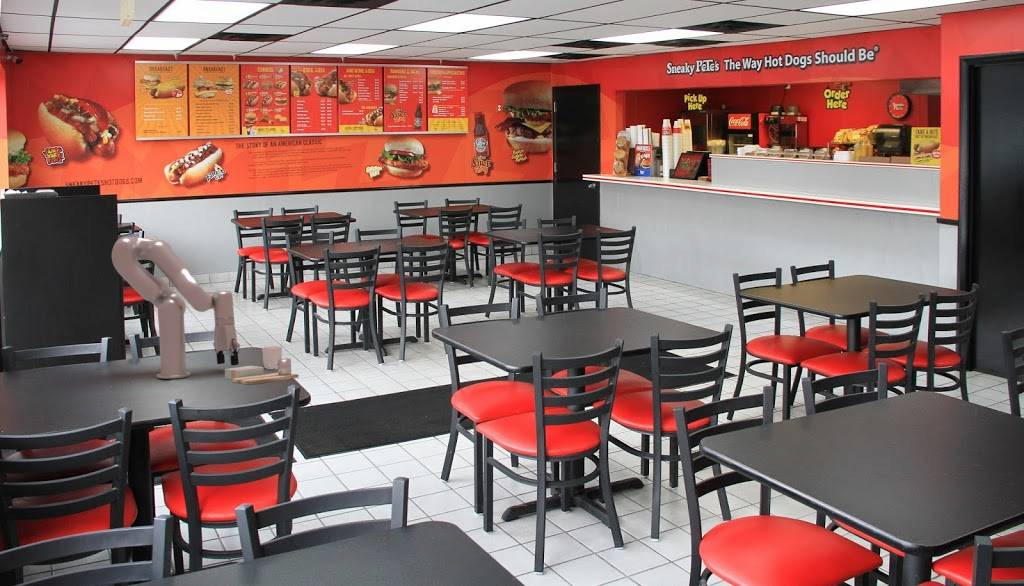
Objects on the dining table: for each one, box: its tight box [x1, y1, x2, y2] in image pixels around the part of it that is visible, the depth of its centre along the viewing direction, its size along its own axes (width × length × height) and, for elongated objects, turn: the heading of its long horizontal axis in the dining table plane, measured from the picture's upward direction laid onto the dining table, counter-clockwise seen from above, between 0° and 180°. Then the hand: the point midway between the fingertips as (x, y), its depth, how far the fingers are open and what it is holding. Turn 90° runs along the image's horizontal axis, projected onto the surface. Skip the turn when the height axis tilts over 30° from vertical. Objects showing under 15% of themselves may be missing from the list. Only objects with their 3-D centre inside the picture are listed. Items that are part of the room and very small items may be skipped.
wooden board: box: [231, 371, 299, 386], centre depth 377 cm, size 12×22×1 cm, turn 139°
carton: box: [224, 365, 265, 381], centre depth 383 cm, size 8×12×4 cm
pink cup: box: [261, 345, 283, 370], centre depth 401 cm, size 8×8×10 cm
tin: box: [277, 357, 292, 376], centre depth 381 cm, size 5×5×6 cm
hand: (227, 364), depth 392 cm, fingers open, 9 cm apart
